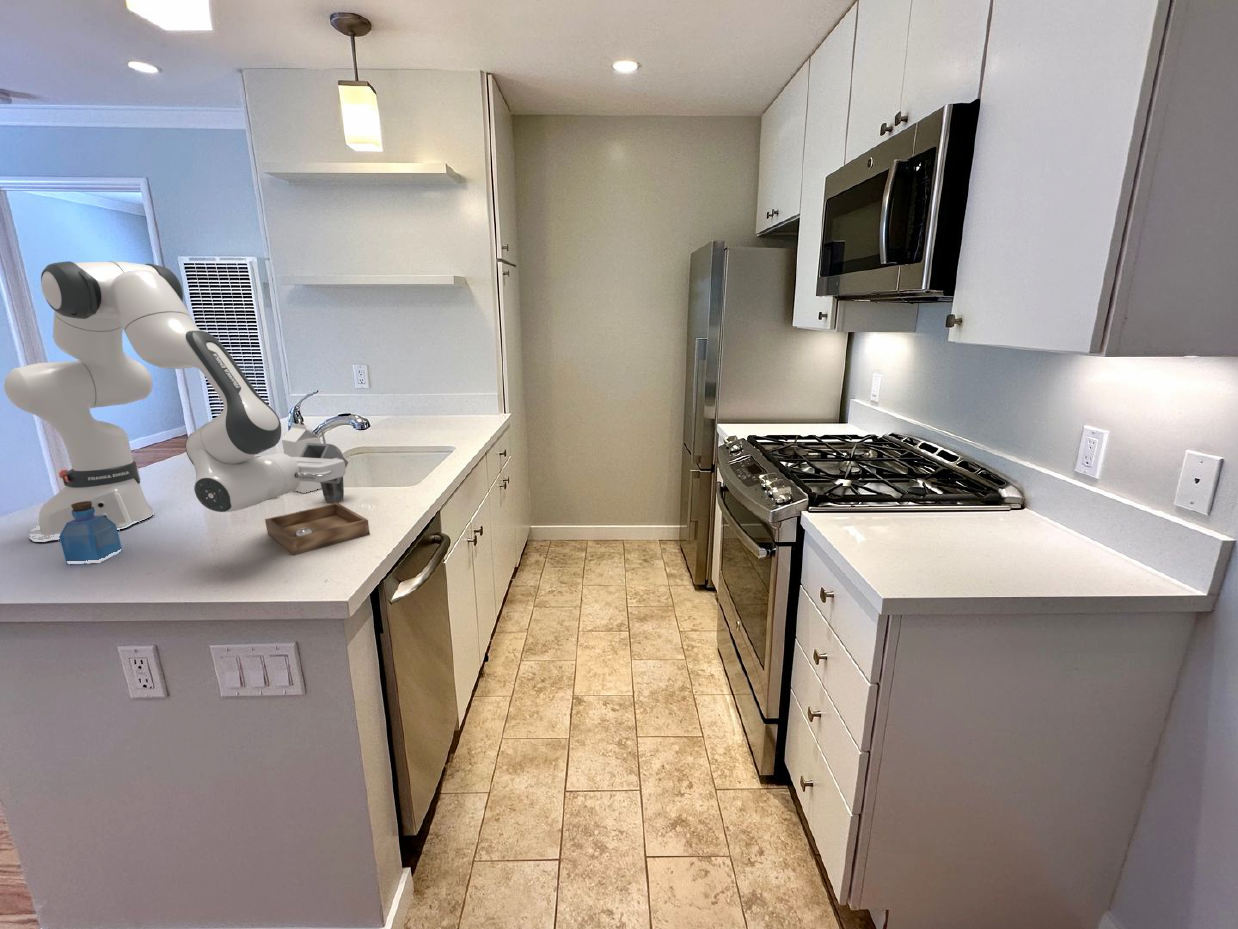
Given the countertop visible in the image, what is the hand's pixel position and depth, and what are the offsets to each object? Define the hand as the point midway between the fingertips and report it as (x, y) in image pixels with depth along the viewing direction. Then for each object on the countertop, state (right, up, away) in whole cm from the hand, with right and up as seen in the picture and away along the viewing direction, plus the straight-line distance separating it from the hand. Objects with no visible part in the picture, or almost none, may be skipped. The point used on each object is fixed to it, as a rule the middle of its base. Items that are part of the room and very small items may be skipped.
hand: (322, 460), depth 134 cm
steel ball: (+2, -16, -11) cm, 20 cm away
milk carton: (-21, -8, +32) cm, 39 cm away
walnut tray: (0, -17, -3) cm, 17 cm away
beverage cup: (-8, -11, +21) cm, 25 cm away
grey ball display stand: (+1, -3, +3) cm, 4 cm away
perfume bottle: (-40, -21, -15) cm, 47 cm away
